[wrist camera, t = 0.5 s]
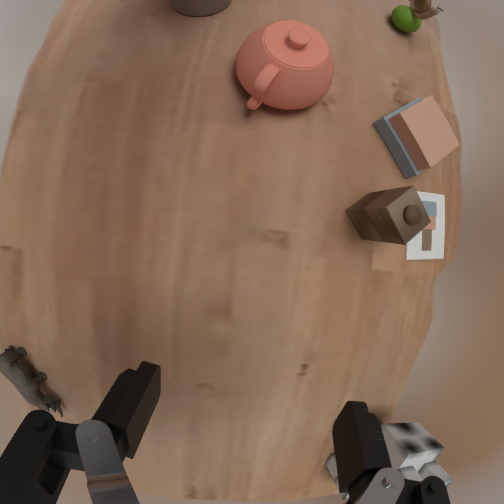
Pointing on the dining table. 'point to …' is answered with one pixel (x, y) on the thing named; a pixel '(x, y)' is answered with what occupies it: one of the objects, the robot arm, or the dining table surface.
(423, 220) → the walnut brick
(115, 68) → the dining table surface
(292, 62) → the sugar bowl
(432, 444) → the toy llama
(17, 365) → the rhino figurine
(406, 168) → the tower base
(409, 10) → the snail figurine
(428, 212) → the page
